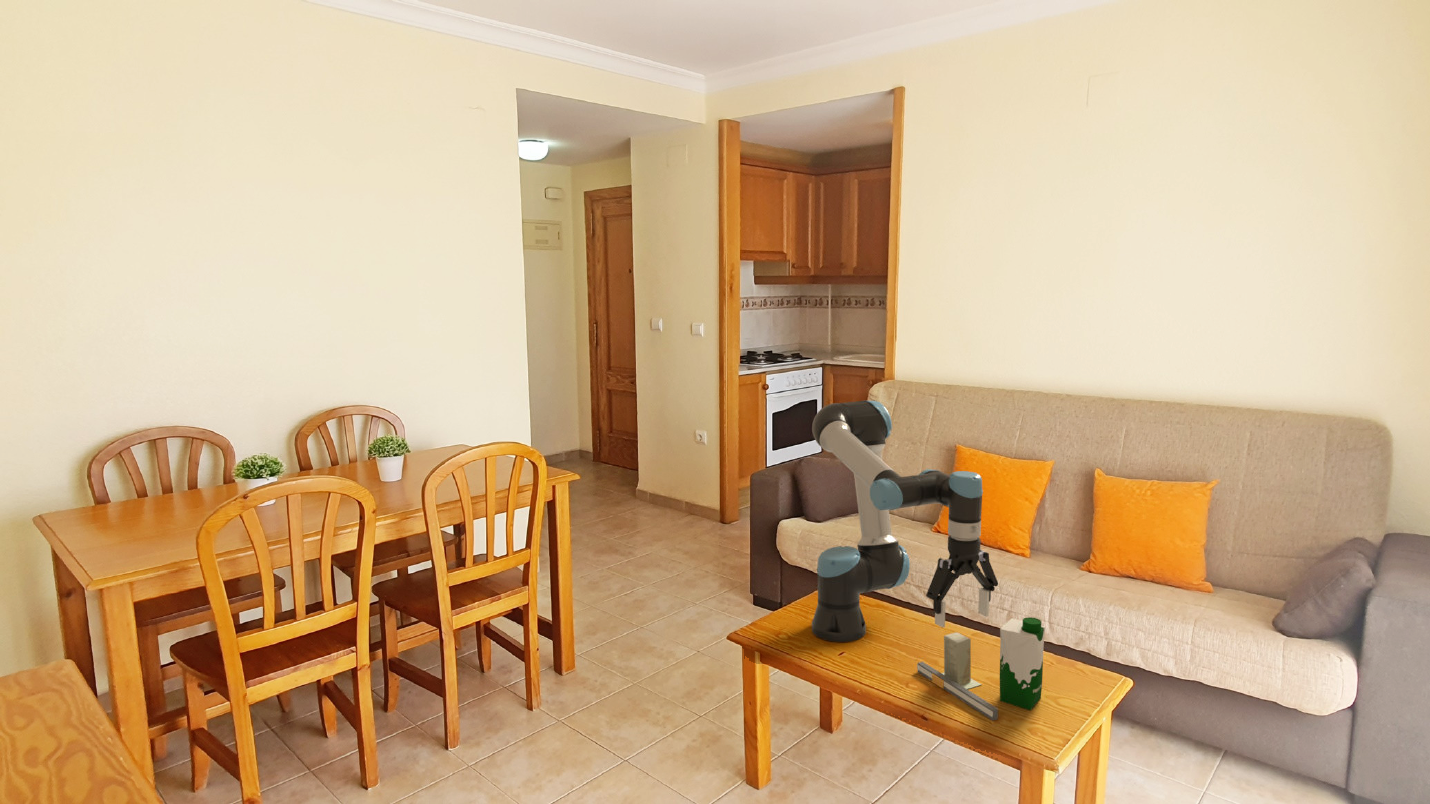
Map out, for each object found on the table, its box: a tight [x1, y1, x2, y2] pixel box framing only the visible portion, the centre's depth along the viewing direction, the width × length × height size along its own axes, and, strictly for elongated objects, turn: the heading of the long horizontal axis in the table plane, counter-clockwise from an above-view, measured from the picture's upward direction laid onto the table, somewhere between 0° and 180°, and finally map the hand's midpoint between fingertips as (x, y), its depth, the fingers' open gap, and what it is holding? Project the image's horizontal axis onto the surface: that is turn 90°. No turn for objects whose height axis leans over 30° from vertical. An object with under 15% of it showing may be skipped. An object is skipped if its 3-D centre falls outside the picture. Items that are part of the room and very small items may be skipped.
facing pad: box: [941, 672, 982, 690], centre depth 201 cm, size 9×7×1 cm
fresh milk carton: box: [999, 616, 1046, 711], centre depth 190 cm, size 9×9×20 cm
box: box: [943, 632, 972, 685], centre depth 200 cm, size 5×4×11 cm
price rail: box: [916, 661, 999, 721], centre depth 194 cm, size 26×2×2 cm, turn 25°
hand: (961, 619), depth 200 cm, fingers open, 13 cm apart
